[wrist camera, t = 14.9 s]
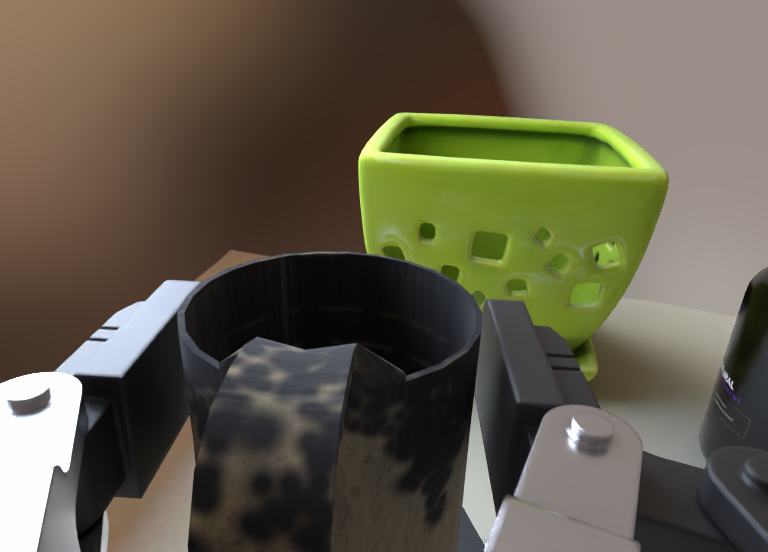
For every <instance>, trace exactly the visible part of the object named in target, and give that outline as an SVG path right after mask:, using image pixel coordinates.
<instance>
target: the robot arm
mask: <svg viewBox="0 0 768 552" xmlns="http://www.w3.org/2000/svg"><path fill="white" fill-rule="evenodd" d="M201 283H202V282H197V281H179V280H166V281H165V282H164V283H163V284H162V285H161V286H160V287H159V288H158V289H157V290H156V291H155V292H154V293H153V294H152V295H151V296H150V297H149V298H148V299H147V300H146V301H145V302H137V303H135V304H133V305H131V306H129V307H127V308H125V309H123V310H121V311H119V312H117V313H115V314H114V315H113V316H112V317H111V318H110V319H109V320H108V321H107V322H106V323H105V324H104V325H103V326H102V329H99V330H98V331H97V332H96V333H94V334H93V335H92V336H91V337H90V341H86V342H85V343H84V344H83V345H82V346H81V347H80V348H79V349H78V350H77V351H76V352H75V353H74V354H72V355H71V356H70V357H69V358H68V359H67V360H66V361H65V362H64V363H63V364H62V365H61V366H60V367H59V368H58V369H57V370H56V371H55V372H48V373H36V374H31V375H26V376H22V377H18V378H15V379H12V380H9V381H7V382H5V383H2V384H0V552H107V544H108V530H109V524H108V518H107V512H106V508H107V507H108V505H109V504H110V502H111V501H112V499H113V497H126V498H142V496H143V495H144V493H145V491H146V489H147V488H148V486H149V484H150V482H151V481H152V479H153V477H154V476H155V474H156V472H157V470H158V469H159V467H160V465H161V463H162V462H163V460H164V458H165V457H166V455H167V453H168V451H169V450H170V448H171V446H172V444H173V443H174V441H175V439H176V437H177V436H178V434H179V432H180V431H181V429H182V427H183V425H184V424H185V422H186V420H187V418H188V417H189V415H190V412H189V404H188V397H187V390H186V383H185V376H184V369H183V362H182V355H181V348H180V341H179V334H178V318H177V312H178V311H179V309H180V307H181V305H182V303H183V302H184V300H185V298H186V296H187V295H188V294H189V293H190V292H192V291H193V290H194V289H195V288H196V287H197V286H199V285H200V284H201ZM482 313H483V314H482V331H481V340H480V349H479V357H478V365H477V374H476V382H475V397H476V403H477V409H478V415H479V420H480V426H481V432H482V437H483V443H484V449H485V454H486V460H487V466H488V471H489V477H490V483H491V488H492V494H493V500H494V506H495V511H496V520H495V522H494V525H493V527H492V530H491V533H490V535H489V538H488V540H487V543H486V545H485V548H484V550H483V552H768V452H767V451H764V450H760V449H757V448H752V447H746V446H725V447H721V448H718V449H716V450H715V451H713V452H712V453H711V454H710V456H709V459H708V462H707V465H706V468H705V469H701V468H697V467H694V466H690V465H686V464H683V463H679V462H675V461H672V460H668V459H664V458H661V457H658V456H655V455H653V454H650V453H648V452H645V451H643V444H642V441H641V438H640V437H639V435H638V433H637V432H636V431H635V430H634V429H633V428H632V427H631V426H630V425H629V424H628V423H627V422H625V421H624V420H622V419H621V418H619V417H617V416H615V415H614V414H611V413H609V412H607V411H604V410H601V408H600V406H599V404H598V402H597V400H596V398H595V396H594V394H593V392H592V390H591V388H590V386H589V384H588V382H587V380H586V378H585V376H584V374H583V372H582V371H581V368H580V366H579V364H578V362H577V360H576V358H574V354H573V352H572V350H571V348H570V346H569V344H568V342H567V340H566V339H565V338H563V337H562V336H561V335H560V334H558V333H557V332H556V331H555V330H553V329H552V328H551V327H550V326H536V325H533V322H532V320H531V317H530V315H529V313H528V310H527V308H526V305H525V303H524V301H517V300H500V299H485V302H484V305H483V311H482Z"/></svg>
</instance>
